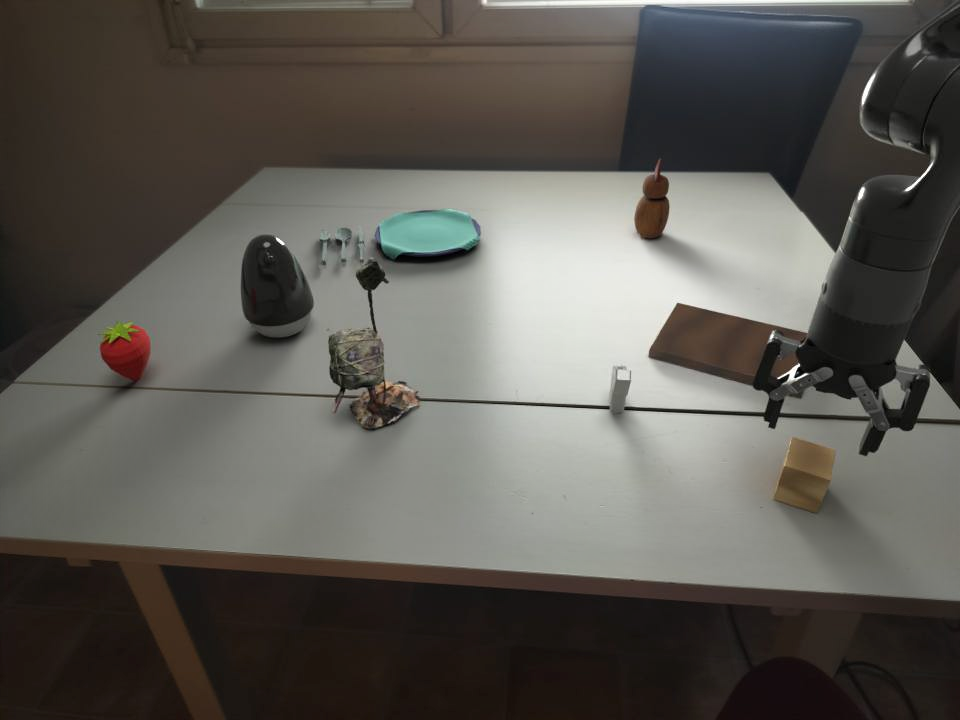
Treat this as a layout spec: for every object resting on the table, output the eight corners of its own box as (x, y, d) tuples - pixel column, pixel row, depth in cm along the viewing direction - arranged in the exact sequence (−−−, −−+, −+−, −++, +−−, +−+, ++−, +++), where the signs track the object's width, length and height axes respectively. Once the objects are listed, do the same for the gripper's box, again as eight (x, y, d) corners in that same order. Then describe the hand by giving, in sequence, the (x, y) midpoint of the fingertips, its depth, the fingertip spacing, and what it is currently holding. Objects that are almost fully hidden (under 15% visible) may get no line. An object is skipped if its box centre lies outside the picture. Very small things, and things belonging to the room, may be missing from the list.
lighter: (609, 391, 87) (615, 341, 82) (623, 392, 87) (629, 342, 82) (609, 427, 81) (616, 375, 77) (624, 428, 81) (631, 376, 76)
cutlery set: (489, 258, 119) (489, 247, 117) (319, 274, 115) (316, 262, 114) (472, 214, 135) (472, 204, 133) (322, 227, 131) (320, 216, 130)
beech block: (822, 483, 73) (836, 449, 70) (817, 514, 70) (830, 480, 67) (780, 469, 75) (791, 436, 72) (772, 499, 71) (784, 465, 68)
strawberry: (166, 360, 95) (144, 300, 89) (155, 393, 89) (131, 329, 83) (122, 366, 94) (97, 305, 88) (108, 399, 88) (80, 335, 82)
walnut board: (815, 344, 95) (817, 335, 94) (800, 398, 85) (804, 389, 84) (675, 310, 103) (677, 302, 102) (648, 357, 93) (649, 348, 92)
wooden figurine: (658, 244, 122) (670, 163, 113) (628, 238, 124) (637, 158, 116) (669, 230, 127) (681, 152, 118) (640, 224, 129) (650, 147, 120)
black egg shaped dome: (253, 354, 96) (227, 258, 87) (245, 319, 104) (221, 228, 95) (323, 338, 99) (306, 244, 90) (311, 305, 106) (294, 216, 98)
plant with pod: (327, 400, 87) (300, 262, 75) (411, 381, 90) (397, 245, 78) (338, 440, 80) (310, 296, 69) (428, 418, 83) (416, 276, 72)
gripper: (961, 298, 58) (896, 437, 68) (788, 263, 64) (751, 396, 73) (963, 341, 53) (893, 485, 62) (775, 298, 59) (736, 436, 68)
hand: (816, 436), depth 68 cm, fingers open, 8 cm apart
